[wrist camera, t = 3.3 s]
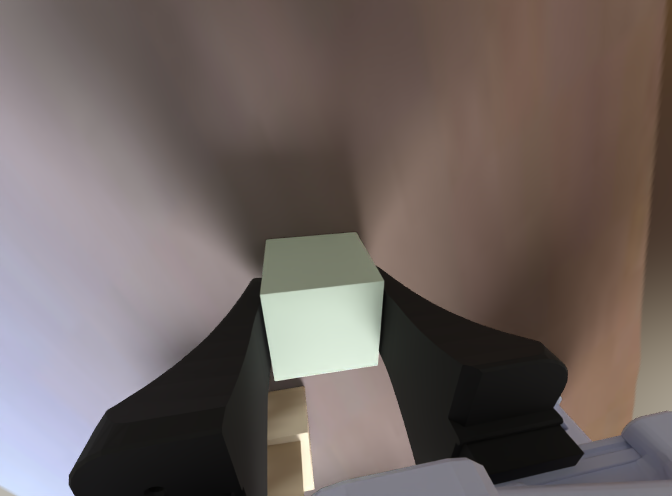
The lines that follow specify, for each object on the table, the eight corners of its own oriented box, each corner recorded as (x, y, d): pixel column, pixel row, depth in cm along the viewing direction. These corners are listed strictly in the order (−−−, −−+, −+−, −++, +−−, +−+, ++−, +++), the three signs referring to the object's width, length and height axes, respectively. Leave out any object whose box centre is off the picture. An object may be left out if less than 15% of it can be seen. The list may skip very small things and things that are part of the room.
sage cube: (356, 232, 13) (384, 280, 9) (354, 302, 15) (377, 365, 11) (266, 239, 12) (259, 294, 9) (276, 311, 14) (274, 381, 11)
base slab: (304, 381, 17) (308, 432, 15) (310, 438, 20) (314, 489, 17) (200, 398, 16) (185, 455, 14) (221, 455, 19) (212, 511, 16)
